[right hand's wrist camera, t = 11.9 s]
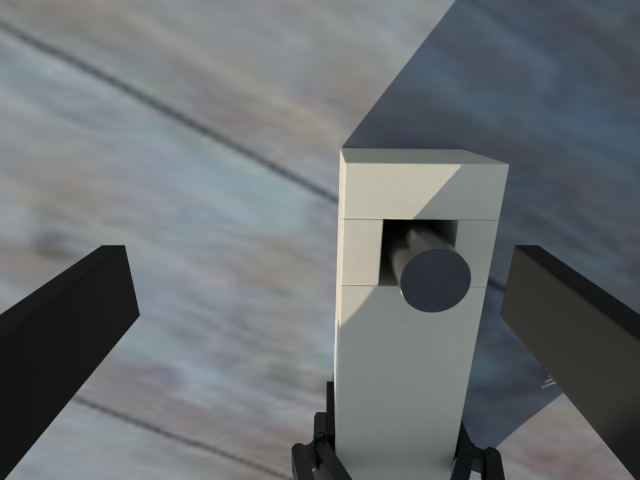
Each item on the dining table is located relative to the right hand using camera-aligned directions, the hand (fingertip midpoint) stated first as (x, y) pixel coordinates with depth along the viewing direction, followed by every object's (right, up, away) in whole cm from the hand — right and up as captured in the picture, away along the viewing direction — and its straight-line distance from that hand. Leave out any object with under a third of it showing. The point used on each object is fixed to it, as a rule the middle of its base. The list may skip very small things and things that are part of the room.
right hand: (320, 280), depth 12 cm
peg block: (+6, -5, +22) cm, 24 cm away
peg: (+7, +3, +19) cm, 20 cm away
